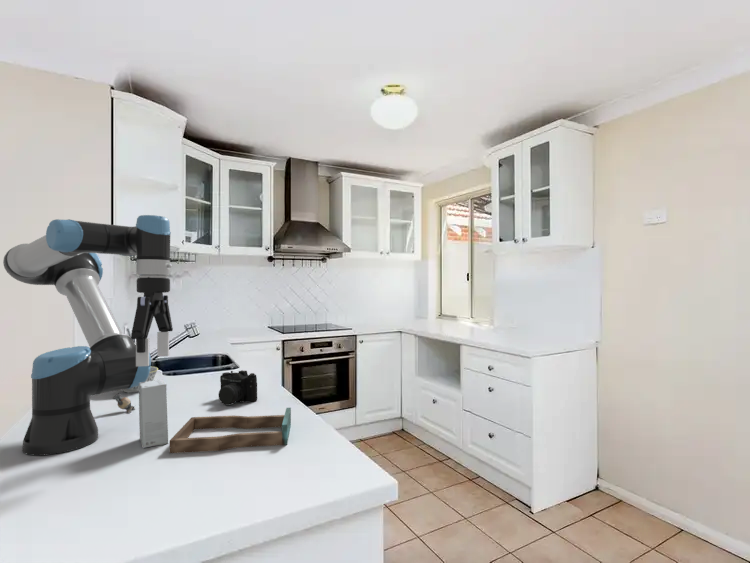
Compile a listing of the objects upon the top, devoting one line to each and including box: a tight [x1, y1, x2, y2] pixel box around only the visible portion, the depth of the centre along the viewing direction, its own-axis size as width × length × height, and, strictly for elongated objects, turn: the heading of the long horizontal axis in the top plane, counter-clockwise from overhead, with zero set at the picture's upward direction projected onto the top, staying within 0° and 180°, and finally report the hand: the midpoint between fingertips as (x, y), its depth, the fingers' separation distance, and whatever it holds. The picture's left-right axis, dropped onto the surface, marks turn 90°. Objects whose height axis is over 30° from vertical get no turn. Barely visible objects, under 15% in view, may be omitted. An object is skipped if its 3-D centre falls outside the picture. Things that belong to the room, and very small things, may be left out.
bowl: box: [122, 366, 159, 393], centre depth 158 cm, size 16×16×8 cm
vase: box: [112, 393, 136, 414], centre depth 131 cm, size 5×5×6 cm
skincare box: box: [138, 379, 169, 449], centre depth 107 cm, size 8×6×15 cm
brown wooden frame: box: [169, 407, 292, 454], centre depth 109 cm, size 27×17×5 cm, turn 98°
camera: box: [218, 369, 258, 406], centre depth 142 cm, size 14×11×10 cm
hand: (153, 361), depth 107 cm, fingers open, 13 cm apart
